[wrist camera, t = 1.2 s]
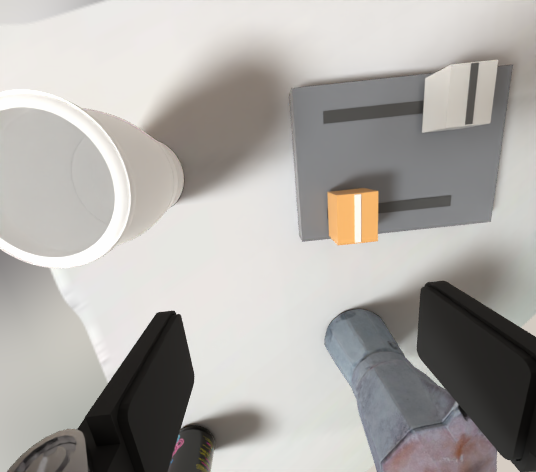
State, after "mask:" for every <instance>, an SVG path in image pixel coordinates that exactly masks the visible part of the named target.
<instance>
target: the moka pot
mask: <svg viewBox="0 0 536 472" xmlns="http://www.w3.org/2000/svg"><path fill="white" fill-rule="evenodd" d="M325 346H326V348H327V350H328V352H329V353H330V355H331V357H332V359H333V360H334V362H335V364H336V365H337V367H338V368H339V369H340V371H341V373H342V374H343V376H344V377H345V379H346V380H347V382H348V383H349V385H350V386H351V388H352V390H353V393H354V395H355V397H356V399H357V405H358V411H359V415H360V418H361V421H362V424H363V427H364V431H365V434H366V437H367V440H368V443H369V447H370V450H371V453H372V456H373V460H374V463H375V466H376V470H377V472H496V471H497V469H496V468H497V467H496V459H497V450H496V448H495V447H494V446H493V445H492V444H491V443H490V441H489V440H488V439H487V438H486V437H485V435H484V434H483V433H482V432H481V431H480V429H479V428H478V427H477V426H476V425H475V423H474V422H473V421H472V420H471V419H470V417H469V416H468V415H467V414H466V413H465V411H464V410H463V409H462V408H461V407H460V405H459V404H458V403H457V402H456V401H455V400H454V398H453V397H452V396H451V395H450V394H449V392H448V391H447V390H446V389H444V388H442V387H440V386H438V385H437V384H436V383H435V382H434V381H432V380H431V379H430V378H429V377H428V376H427V375H426V374H424V373H423V372H421V371H420V370H418V369H417V368H415V367H414V366H413V365H412V364H411V363H410V362H409V361H408V360H407V359H406V358H405V356H404V354H403V352H402V351H401V349H400V348H399V346H398V344H397V343H396V341H395V340H394V338H393V336H392V335H391V333H390V332H389V330H388V329H387V327H386V325H385V324H384V322H383V321H382V319H381V318H380V317H379V316H378V315H376V314H374V313H372V312H370V311H367V310H364V309H355V310H349V311H346V312H344V313H341V314H340V315H339V316H337V317H336V318H335V319H334V320H333V321H332V322H331V323H330V324H329V326H328V328H327V331H326V336H325Z"/></svg>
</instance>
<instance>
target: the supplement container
mask: <svg viewBox="0 0 536 472" xmlns="http://www.w3.org/2000/svg"><path fill="white" fill-rule="evenodd" d="M214 448H215V441H214V437H213V435H212V434H211V433H210V432H209V431H208V430H207V429H205V428H203V427H200V426H188V427H185V428H183V429H181V430H180V432H179V435H178V439H177V442H176V445H175V449H174V452H173V455H172V459H171V462H170V466H169V469H168V472H211V466H212V460H213V454H214Z"/></svg>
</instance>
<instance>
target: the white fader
mask: <svg viewBox="0 0 536 472" xmlns="http://www.w3.org/2000/svg"><path fill="white" fill-rule="evenodd" d="M497 66H498V60H488V61H479V62H470V63H460V64H451V65H449V66H447V67H445V68H444V69H442V70H440V71H438V72H436V73H434V74H432V75H430V76H429V77H427V78H425V90H424V107H423V124H422V133H426V132H435V131H444V130H454V129H462V128H468V127H473V126H478V125H484V124H489V123H490V122H491V114H492V106H493V98H494V90H495V82H496V74H497Z"/></svg>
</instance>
